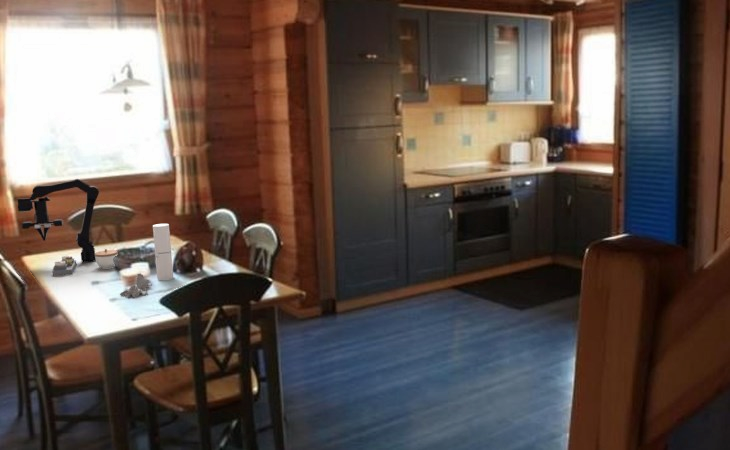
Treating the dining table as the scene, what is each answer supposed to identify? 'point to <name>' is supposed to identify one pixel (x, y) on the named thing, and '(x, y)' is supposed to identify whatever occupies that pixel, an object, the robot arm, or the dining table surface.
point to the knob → (60, 263)
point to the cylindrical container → (163, 251)
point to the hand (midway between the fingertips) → (44, 240)
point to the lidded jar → (105, 258)
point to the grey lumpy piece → (137, 287)
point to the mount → (64, 269)
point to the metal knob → (69, 261)
